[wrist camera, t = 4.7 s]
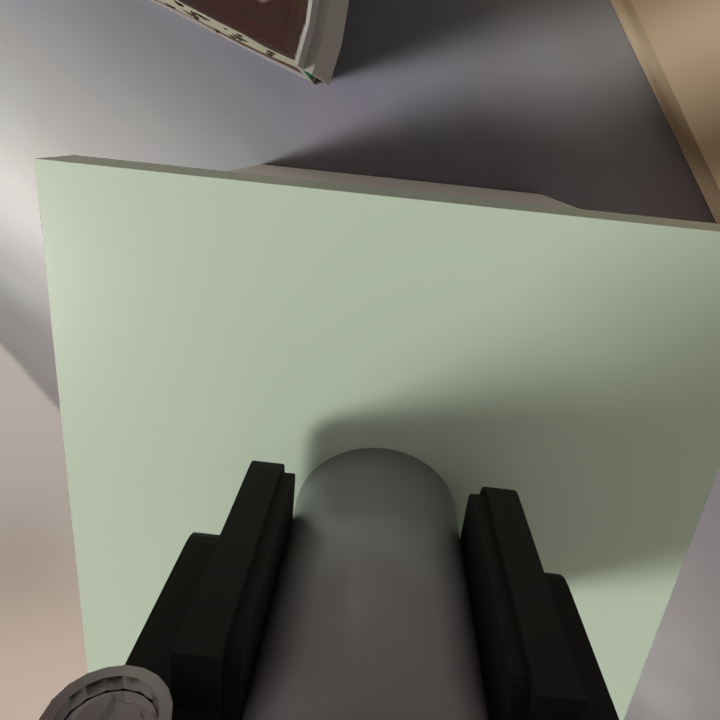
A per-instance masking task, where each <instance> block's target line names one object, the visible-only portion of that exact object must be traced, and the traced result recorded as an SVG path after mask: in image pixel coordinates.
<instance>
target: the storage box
mask: <svg viewBox="0 0 720 720" xmlns="http://www.w3.org/2000/svg"><path fill="white" fill-rule="evenodd" d="M228 172H237V173H246V174H256V175H265V176H275V177H284V178H293V179H303V180H312V181H321V182H331V183H340V184H350V185H359V186H368V187H378V188H387V189H397V190H406V191H415V192H425V193H434V194H443V195H453V196H462V197H472V198H481V199H490V200H500V201H509V202H518V203H528V204H537V205H547V206H556V207H565V208H575V209H579V208H576V207H573V206H571V205H568V204H566V203H563V202H560V201H558V200H555V199H553V198H550V197H547V196H545V195H542V194H536V193H527V192H517V191H508V190H499V189H489V188H480V187H470V186H461V185H452V184H442V183H433V182H423V181H414V180H405V179H395V178H386V177H376V176H367V175H358V174H348V173H339V172H329V171H320V170H311V169H301V168H292V167H282V166H273V165H264V164H260V165H256V166H251V167H246V168H241V169H236V170H231V171H228Z"/></svg>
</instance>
